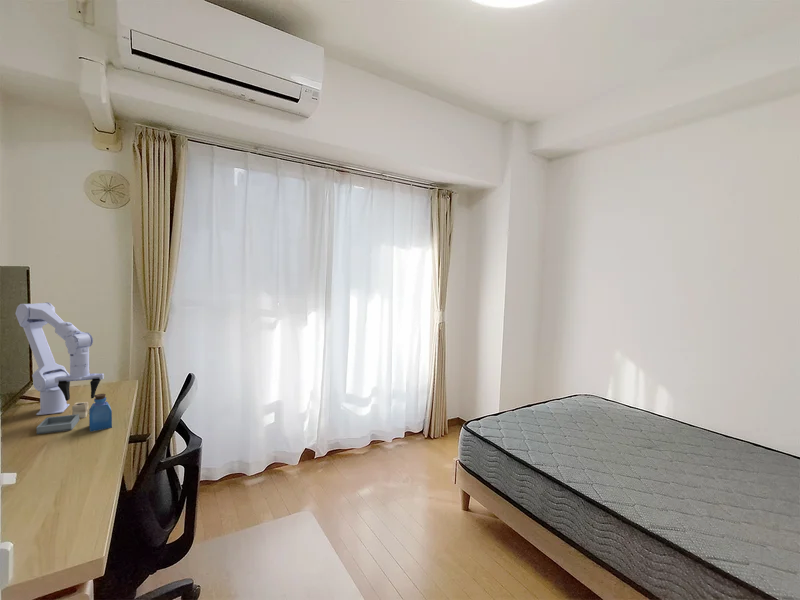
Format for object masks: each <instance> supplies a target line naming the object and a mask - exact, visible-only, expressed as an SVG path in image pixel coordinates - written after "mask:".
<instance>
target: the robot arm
mask: <svg viewBox="0 0 800 600" xmlns="http://www.w3.org/2000/svg"><path fill="white" fill-rule="evenodd" d="M15 317H16V319H17V322H18V324H19V327H21V328H23V331H24V333H25V336H26V338H27V341H28V344H29V347H30V349H31V352H32V355H33V357H34V359H35V362H36V364H37V369H36V370H35V371H34V372H33V374H32V375H31V377H32V381H33V382H32V385H33V387H34V388H35V390H36V391H38V392H39V403H40V404H39V405H40V407H39V409H40V410H39V411H37V413H36V414H35V415H36V416H43V415H53V414H62V413H64V412H65V411H66V410H67V408H68V407H69V406H70V403H67V401H70V399H71V395H70V385H71V382H79V381H89V384H90V399H95V395H96V391H97V388H98V387H99V384H100V382H101V380H104V378H105V373H90V347H91V346H92V345H93V343H94V338H93V336H92V335H91V333H90V332H88V331H86V332H84V331H81V330H80V329H78V327H76V326H75V325H74V324H73V323H72V322H70V321H64V320H63V319H62V318H61V317H60V316H59V315H58V314H57V313H56V307H55V306H54V305H53V304H52V303H51V302H38V303H19V305H17V306H16V310H15ZM46 325H50V326H51V327H53V328H54V332H55V334H57V336H59V337H60V338H61V339H62V340H63V341H65V342H64V344H65V347H66V349H67V353H68V354H69V372H68V371H67V369H66V367H65V366H64V365H62V364H60V363H59V364H58V363H57V362H56V360H55V357H54V355H53V352H52V350H51V347H50V345H49V343H48V339H47V337H46V333H45V332H44V329H43V327H44V326H46Z"/></svg>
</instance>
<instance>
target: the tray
mask: <svg viewBox="0 0 800 600" xmlns="http://www.w3.org/2000/svg"><path fill="white" fill-rule="evenodd" d="M79 422H80V418H79V414H76V415H72V414H67V415H59V416H49V417H46V418H44V419H43V420H42V421H41V422H40V423H39V424H38V425H37V426H36V435H41V434H42V435H44V434H52V433H59V432H69V431H72V430H73V429H74V428H75V426H76V425H77V424H78V423H79Z"/></svg>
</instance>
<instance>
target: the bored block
mask: <svg viewBox="0 0 800 600" xmlns="http://www.w3.org/2000/svg"><path fill="white" fill-rule="evenodd" d="M71 411H72V412H71V413H72V414H71V415H76V414H79V419H84V418H86V417H88V415H89V401H82V402H75V403H74V404H73V405H71Z"/></svg>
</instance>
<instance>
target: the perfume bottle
mask: <svg viewBox="0 0 800 600" xmlns="http://www.w3.org/2000/svg"><path fill="white" fill-rule="evenodd" d="M112 411H113V410H112V408H111V405H110V404H109V402H108V401H107V397H106V393H98V394H95V397H94V398H93V403H92V404H91V405H90V407H89V408H88V415H89V416H88V417H89V420H88V422H89V423H88V425H89V432H95V431H100V430H106V429H107V430H108V429H111V428H113V416H112V415H113V412H112Z"/></svg>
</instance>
